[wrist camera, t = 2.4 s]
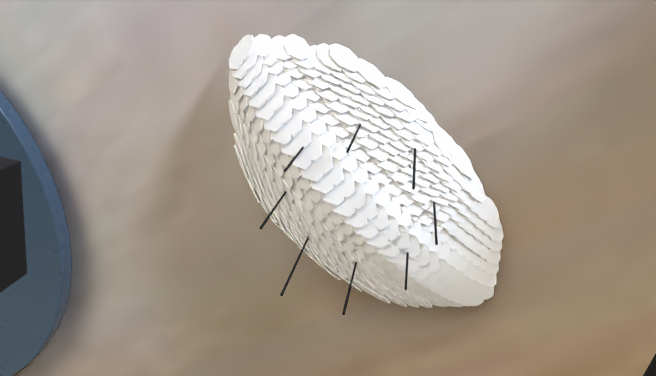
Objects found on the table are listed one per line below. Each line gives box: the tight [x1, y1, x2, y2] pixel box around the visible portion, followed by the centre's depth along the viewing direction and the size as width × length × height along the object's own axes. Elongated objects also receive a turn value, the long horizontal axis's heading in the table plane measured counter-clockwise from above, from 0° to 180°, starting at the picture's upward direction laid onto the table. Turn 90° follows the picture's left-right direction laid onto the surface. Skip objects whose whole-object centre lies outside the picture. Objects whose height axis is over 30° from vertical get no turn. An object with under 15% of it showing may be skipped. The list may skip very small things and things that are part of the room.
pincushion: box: [228, 34, 504, 315], centre depth 14 cm, size 12×6×6 cm, turn 45°
